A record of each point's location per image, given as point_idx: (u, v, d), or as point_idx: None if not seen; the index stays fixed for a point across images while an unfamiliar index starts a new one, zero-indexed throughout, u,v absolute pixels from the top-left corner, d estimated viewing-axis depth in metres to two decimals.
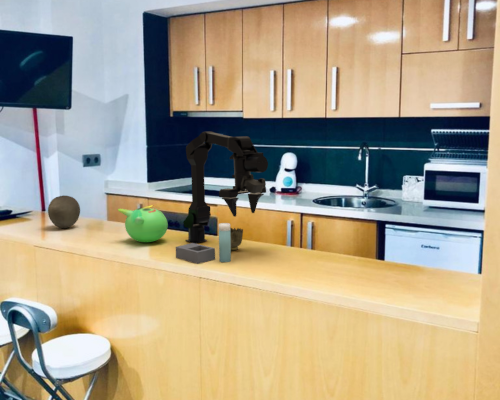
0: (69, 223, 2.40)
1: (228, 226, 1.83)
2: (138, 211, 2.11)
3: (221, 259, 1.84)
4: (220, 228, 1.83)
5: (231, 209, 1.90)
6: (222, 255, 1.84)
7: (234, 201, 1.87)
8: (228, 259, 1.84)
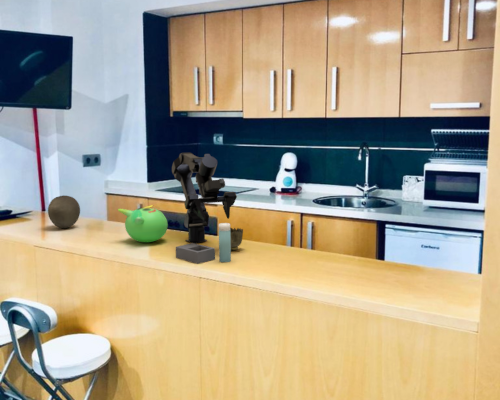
0: (69, 223, 2.40)
1: (228, 226, 1.83)
2: (138, 211, 2.11)
3: (221, 259, 1.84)
4: (220, 228, 1.83)
5: (199, 215, 1.91)
6: (222, 255, 1.84)
7: (198, 204, 1.90)
8: (228, 259, 1.84)
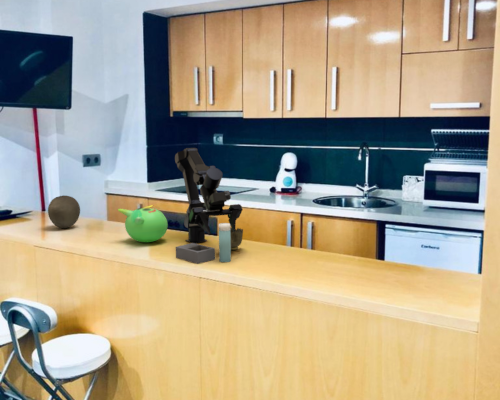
0: (69, 223, 2.40)
1: (228, 226, 1.83)
2: (138, 211, 2.11)
3: (221, 259, 1.84)
4: (220, 228, 1.83)
5: (205, 228, 1.86)
6: (222, 255, 1.84)
7: (203, 217, 1.86)
8: (228, 259, 1.84)
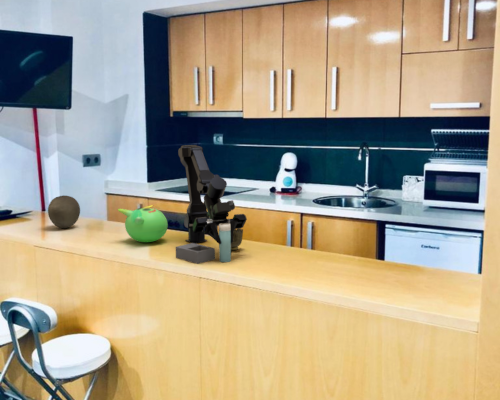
0: (69, 223, 2.40)
1: (228, 226, 1.82)
2: (138, 211, 2.11)
3: (221, 259, 1.84)
4: (220, 228, 1.82)
5: (215, 238, 1.84)
6: (222, 255, 1.84)
7: (213, 227, 1.84)
8: (228, 259, 1.84)
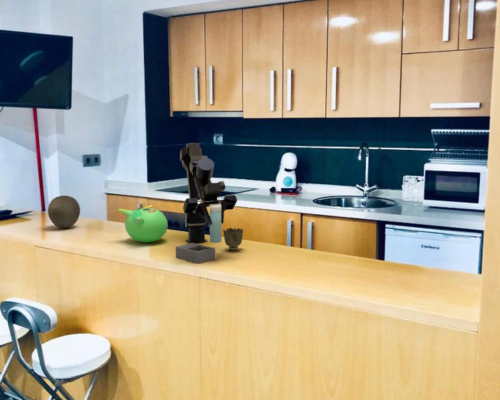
0: (69, 223, 2.40)
1: (219, 206, 1.82)
2: (138, 211, 2.11)
3: (212, 240, 1.84)
4: (211, 208, 1.82)
5: (206, 219, 1.84)
6: (213, 235, 1.83)
7: (204, 208, 1.83)
8: (219, 240, 1.84)
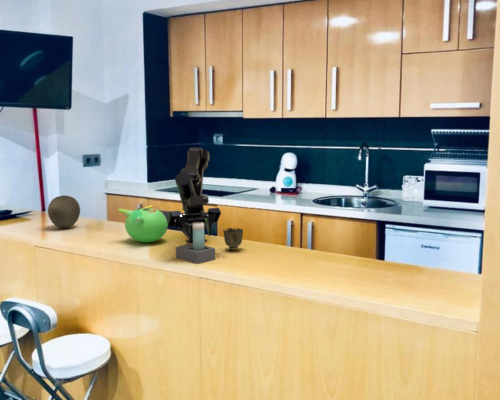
0: (69, 223, 2.40)
1: (202, 225, 1.84)
2: (138, 211, 2.11)
3: None
4: (194, 227, 1.84)
5: (184, 232, 1.85)
6: None
7: (182, 221, 1.85)
8: None
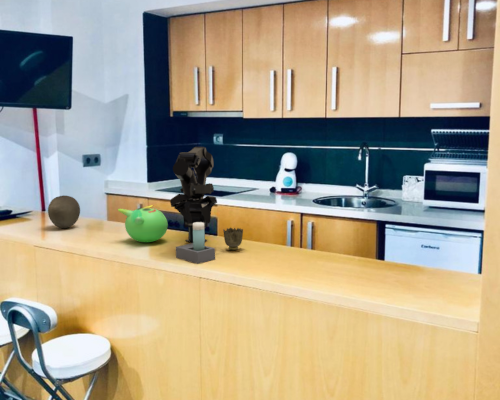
0: (69, 223, 2.40)
1: (202, 225, 1.84)
2: (138, 211, 2.11)
3: None
4: (194, 227, 1.84)
5: (185, 216, 1.91)
6: None
7: (187, 205, 1.90)
8: None
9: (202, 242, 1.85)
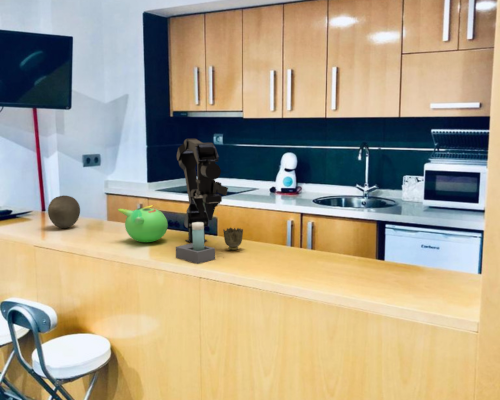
0: (69, 223, 2.40)
1: (201, 225, 1.85)
2: (138, 211, 2.11)
3: None
4: (193, 227, 1.85)
5: (209, 213, 1.95)
6: None
7: None
8: None
9: (202, 242, 1.85)
